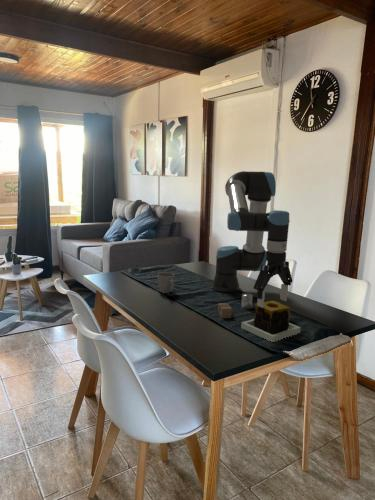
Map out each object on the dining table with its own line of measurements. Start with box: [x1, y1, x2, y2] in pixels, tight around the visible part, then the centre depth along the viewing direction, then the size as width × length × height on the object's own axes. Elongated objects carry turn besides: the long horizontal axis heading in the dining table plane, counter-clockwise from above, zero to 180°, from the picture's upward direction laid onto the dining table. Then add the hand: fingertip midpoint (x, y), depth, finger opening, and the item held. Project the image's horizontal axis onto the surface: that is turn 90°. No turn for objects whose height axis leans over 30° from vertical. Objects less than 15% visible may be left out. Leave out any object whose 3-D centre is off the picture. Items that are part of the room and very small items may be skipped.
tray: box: [240, 318, 301, 343], centre depth 149 cm, size 16×16×2 cm
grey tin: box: [240, 293, 254, 310], centre depth 175 cm, size 5×5×6 cm
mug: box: [157, 271, 175, 294], centre depth 193 cm, size 12×9×10 cm
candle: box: [253, 300, 291, 335], centre depth 148 cm, size 10×10×10 cm
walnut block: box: [217, 302, 233, 319], centre depth 164 cm, size 7×4×4 cm, turn 8°
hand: (272, 303), depth 147 cm, fingers open, 13 cm apart
